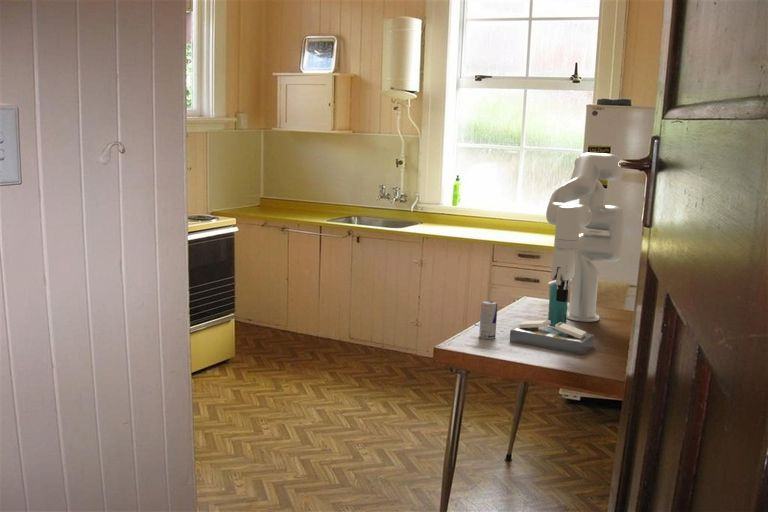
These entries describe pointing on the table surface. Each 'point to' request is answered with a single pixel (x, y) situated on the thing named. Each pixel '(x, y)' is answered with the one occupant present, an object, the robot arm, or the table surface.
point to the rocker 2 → (570, 330)
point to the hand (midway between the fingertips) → (561, 301)
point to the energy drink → (488, 319)
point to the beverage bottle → (556, 308)
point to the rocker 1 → (534, 324)
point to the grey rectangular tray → (551, 339)
